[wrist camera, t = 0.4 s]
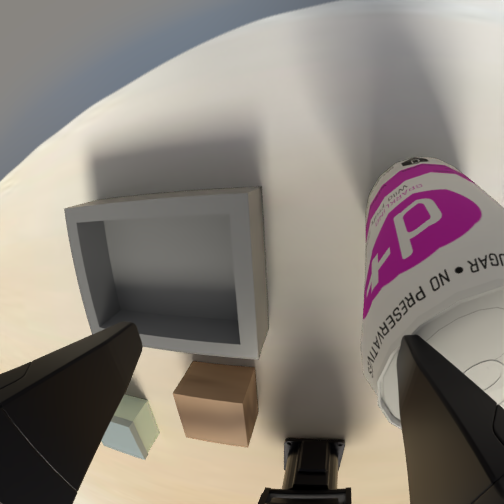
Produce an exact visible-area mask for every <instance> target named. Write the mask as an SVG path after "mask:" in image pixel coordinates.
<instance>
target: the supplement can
mask: <svg viewBox="0 0 504 504" xmlns="http://www.w3.org/2000/svg"><path fill="white" fill-rule="evenodd" d="M414 334H416V335H419V336H420V337H421V338H422V339H424V340H425V341H426V342H427V343H428V344H430V345H431V346H432V347H433V348H434V349H436V350H437V351H438V352H439V353H440V354H442V355H443V356H444V357H445V358H446V359H447V360H449V361H450V362H451V363H452V364H453V365H454V366H456V367H457V368H458V369H459V370H460V371H461V372H463V373H464V374H465V375H466V376H467V377H468V378H470V379H471V380H472V381H473V382H474V383H475V384H476V385H478V386H479V387H480V388H481V389H482V390H483V391H484V392H485V393H487V394H488V395H489V396H490V397H491V398H492V399H493V400H494V401H496V402H497V405H498V404H499V405H500V406H501V407H502V408H503V409H504V208H503V207H502V206H501V205H500V204H499V203H498V202H496V201H495V200H494V199H493V198H492V197H491V196H490V195H488V194H487V193H486V192H485V191H484V190H482V189H481V188H480V187H479V186H478V185H476V184H475V183H474V182H473V181H471V180H470V179H469V178H468V177H466V176H465V175H464V174H463V173H461V172H460V171H459V170H457V169H456V168H455V167H453V166H451V165H449V164H447V163H445V162H443V161H441V160H439V159H437V158H429V157H413V158H410V159H407V160H404V161H401V162H398V163H395V164H394V165H393V166H392V167H390V168H389V169H388V170H387V171H386V172H384V173H383V174H382V175H381V176H380V177H379V178H378V180H377V182H376V184H375V185H374V187H373V189H372V190H371V192H370V194H369V199H368V204H367V210H366V263H365V291H364V309H363V324H362V336H361V355H362V365H363V375H364V376H365V378H366V379H367V381H368V382H369V384H370V385H371V387H372V389H373V390H374V392H375V393H376V395H377V396H378V406H379V408H380V409H381V411H382V412H383V414H384V415H385V417H386V418H387V420H388V421H389V423H391V424H393V425H394V426H396V427H398V428H400V429H401V430H402V426H401V420H400V412H399V394H398V379H397V366H396V363H397V357H398V352H399V349H400V346H401V340H402V337H403V336H404V335H414Z"/></svg>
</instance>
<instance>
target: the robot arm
mask: <svg viewBox="0 0 504 504" xmlns="http://www.w3.org/2000/svg"><path fill="white" fill-rule="evenodd" d="M141 352H142V341H141V338H140V335H139V332H138V329H137V326H136V324H135V323H133V322H127V321H122V322H119V323H117V324H115V325H113V326H110V327H108V328H106V329H104V330H101V331H99V332H97V333H95V334H92V335H90V336H88V337H86V338H83V339H81V340H79V341H77V342H74V343H72V344H70V345H68V346H65V347H63V348H61V349H59V350H56V351H54V352H52V353H49V354H47V355H45V356H43V357H40V358H38V359H36V360H34V361H32V362H29V363H27V364H24V365H22V366H20V367H17V368H15V369H12V370H10V371H7V372H4V373H2V374H0V504H73V501H74V499H75V497H76V495H77V491H78V490H79V487H80V485H81V483H82V481H83V479H84V476H85V474H86V472H87V470H88V468H89V466H90V463H91V461H92V459H93V457H94V455H95V453H96V451H97V449H98V447H99V444H100V442H101V440H102V438H103V436H104V434H105V432H106V430H107V428H108V426H109V424H110V422H111V420H112V418H113V416H114V414H115V412H116V410H117V408H118V406H119V404H120V402H121V400H122V398H123V396H124V394H125V392H126V390H127V388H128V385H129V383H130V380H131V377H132V375H133V372H134V370H135V367H136V365H137V362H138V360H139V357H140V354H141ZM396 366H397V379H398V394H399V412H400V420H401V426H402V433H403V440H404V447H405V454H406V463H407V471H408V481H409V492H410V504H504V409H503V408H502V407H501V406H500V405H499V404H498V405H497V402H496V401H494V400H493V399H492V398H491V397H490V396H489V395H488V394H487V393H485V392H484V391H483V390H482V389H481V388H480V387H479V386H478V385H476V384H475V383H474V382H473V381H472V380H471V379H470V378H468V377H467V376H466V375H465V374H464V373H463V372H461V371H460V370H459V369H458V368H457V367H456V366H454V365H453V364H452V363H451V362H450V361H449V360H447V359H446V358H445V357H444V356H443V355H442V354H440V353H439V352H438V351H437V350H436V349H434V348H433V347H432V346H431V345H430V344H428V343H427V342H426V341H425V340H424V339H422V338H421V337H420V336H419V335H416V334H414V335H404V336H403V337H402V340H401V346H400V349H399V352H398V357H397V363H396ZM344 447H345V441H344V440H316V439H292V438H288V439H286V440H285V443H284V470H285V475H284V481H283V486H282V489H271V488H265V490H264V492H263V493H262V494H261V497H260V499H259V502H258V504H351V487H350V488H346V489H337V479H338V470H339V467H340V463H341V459H342V455H343V451H344Z"/></svg>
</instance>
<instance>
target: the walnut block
mask: <svg viewBox="0 0 504 504" xmlns="http://www.w3.org/2000/svg"><path fill="white" fill-rule="evenodd" d="M173 396H174V399H175V402H176V406H177V409H178V413H179V416H180V419H181V422H182V425H183V429H184V432H185V435H186V437H188V438H193V439H198V440H203V441H209V442H214V443H220V444H227V445H233V446H241V447H248V446H249V442H250V439H251V436H252V432H253V429H254V425H255V422H256V419H257V415H258V400H257V387H256V374H255V367H245V366H233V365H223V364H213V363H204V362H196V361H193V362H192V364H191V365H190V367H189V368H188V370H187V372H186V373H185V375H184V376H183V378H182V380H181V381H180V383H179V384H178V386H177V388H176V389H175V391H174V392H173Z"/></svg>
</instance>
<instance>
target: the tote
mask: <svg viewBox="0 0 504 504" xmlns="http://www.w3.org/2000/svg"><path fill="white" fill-rule="evenodd" d="M64 211H65V218H66V224H67V230H68V236H69V242H70V247H71V252H72V257H73V262H74V267H75V271H76V276H77V280H78V284H79V289H80V293H81V296H82V300H83V304H84V308H85V311H86V315H87V319H88V322H89V325H90V329H91V332H92V334H95V333H97V332H99V331H101V330H104V329H106V328H108V327H110V326H113V325H115V324H117V323H119V322H122V321H127V322H133V323H135V324H136V326H137V329H138V332H139V335H140V338H141V341H142V347H149V348H155V349H162V350H169V351H176V352H184V353H192V354H201V355H210V356H220V357H231V358H242V359H256V360H259V357H260V354H261V350H262V347H263V344H264V341H265V338H266V335H267V332H268V329H269V324H268V302H267V280H266V260H265V241H264V222H263V204H262V187H239V188H221V189H206V190H191V191H179V192H167V193H156V194H145V195H135V196H126V197H117V198H108V199H100V200H95V201H91V202H87V203H83V204H80V205H76V206H72V207H69V208H65V209H64Z"/></svg>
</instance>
